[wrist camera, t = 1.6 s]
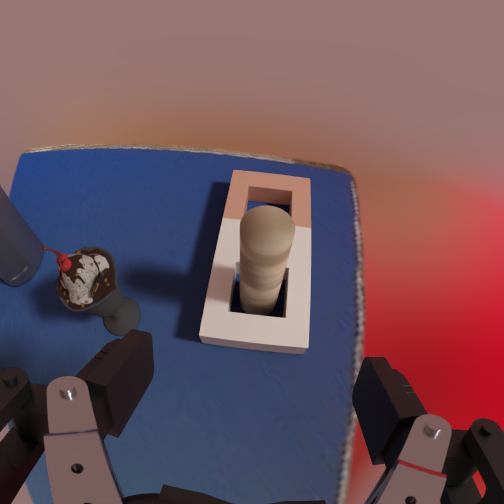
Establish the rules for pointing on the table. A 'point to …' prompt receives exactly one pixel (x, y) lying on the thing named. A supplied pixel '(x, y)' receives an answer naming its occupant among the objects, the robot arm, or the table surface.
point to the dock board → (228, 265)
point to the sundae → (95, 288)
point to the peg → (263, 257)
